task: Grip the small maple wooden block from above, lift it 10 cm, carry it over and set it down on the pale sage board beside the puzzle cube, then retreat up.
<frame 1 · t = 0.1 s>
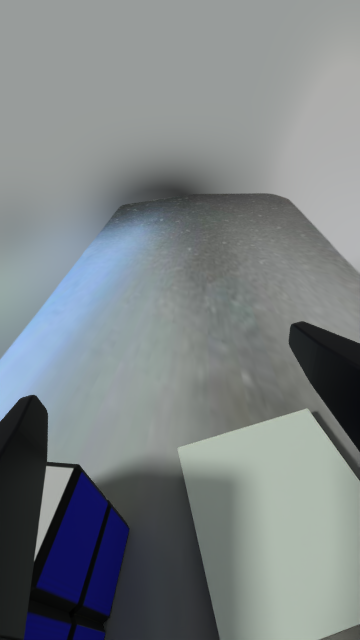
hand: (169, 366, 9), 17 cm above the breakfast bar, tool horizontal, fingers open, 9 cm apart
puzzle cube: (37, 610, 17), on the breakfast bar
sage pad: (277, 509, 19), on the breakfast bar
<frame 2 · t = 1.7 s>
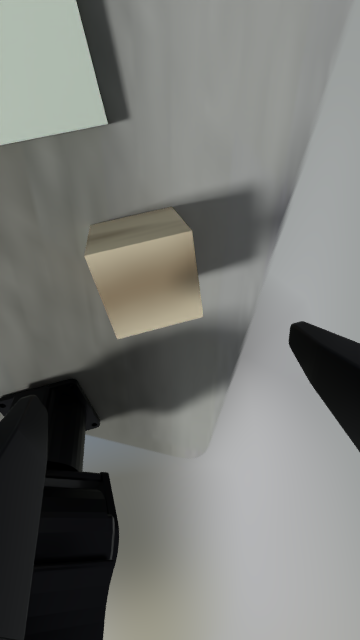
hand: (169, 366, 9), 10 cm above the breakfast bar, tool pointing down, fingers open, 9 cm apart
maple block: (141, 254, 18), on the breakfast bar
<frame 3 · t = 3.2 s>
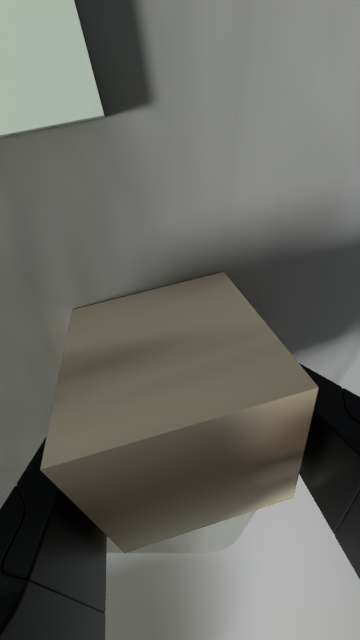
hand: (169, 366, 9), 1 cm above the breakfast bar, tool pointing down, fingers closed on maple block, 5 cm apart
maple block: (164, 347, 10), on the breakfast bar, touching gripper
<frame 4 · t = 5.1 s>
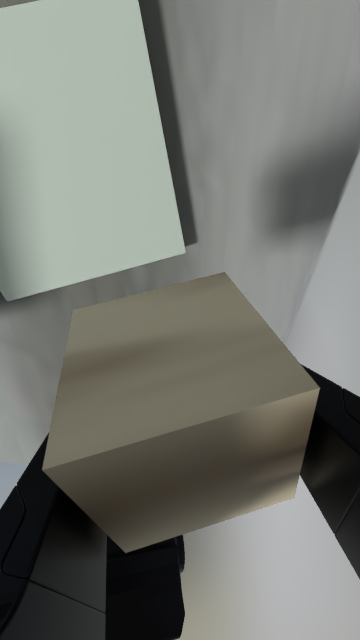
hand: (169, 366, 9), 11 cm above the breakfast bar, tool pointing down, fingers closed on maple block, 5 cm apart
sage pad: (59, 174, 15), on the breakfast bar
maple block: (165, 347, 10), point 10 cm above the breakfast bar, touching gripper
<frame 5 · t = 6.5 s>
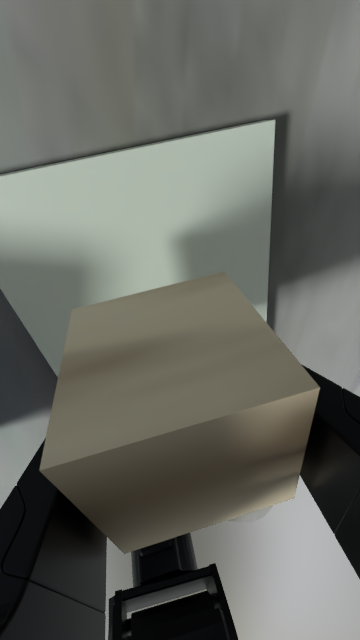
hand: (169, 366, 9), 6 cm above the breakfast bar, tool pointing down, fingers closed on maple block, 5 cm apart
sage pad: (149, 287, 14), on the breakfast bar
maple block: (164, 346, 10), point 5 cm above the breakfast bar, touching gripper
when the fingers open (3 cm above the breakfast bar, at t = 7.4 s): maple block stays where it is, resting on sage pad.
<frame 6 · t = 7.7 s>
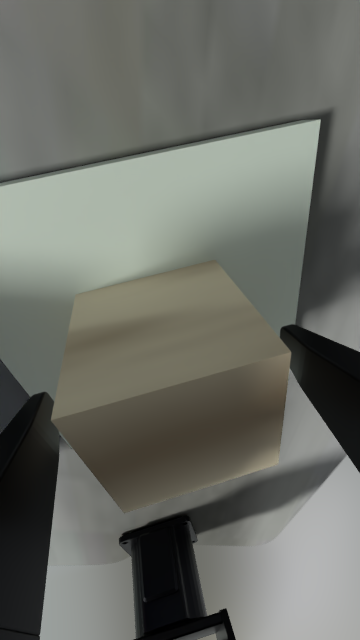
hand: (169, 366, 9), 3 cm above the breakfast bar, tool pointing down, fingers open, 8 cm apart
sage pad: (157, 317, 12), on the breakfast bar
maple block: (161, 331, 11), point 1 cm above the breakfast bar, touching sage pad
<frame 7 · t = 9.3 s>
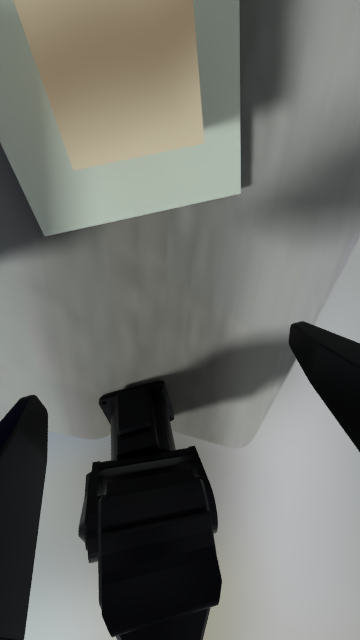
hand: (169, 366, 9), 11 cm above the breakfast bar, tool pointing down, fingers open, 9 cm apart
sage pad: (115, 84, 13), on the breakfast bar
maple block: (116, 82, 12), point 1 cm above the breakfast bar, touching sage pad
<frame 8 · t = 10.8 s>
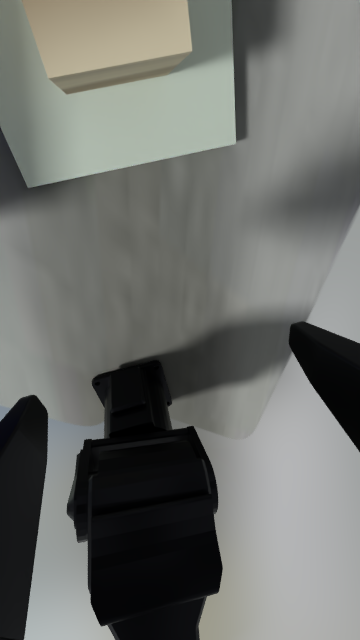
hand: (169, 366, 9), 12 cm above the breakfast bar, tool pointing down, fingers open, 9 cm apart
sage pad: (100, 16, 12), on the breakfast bar
maple block: (100, 9, 12), point 1 cm above the breakfast bar, touching sage pad
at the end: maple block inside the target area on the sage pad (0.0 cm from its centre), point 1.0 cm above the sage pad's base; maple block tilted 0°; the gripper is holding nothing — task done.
